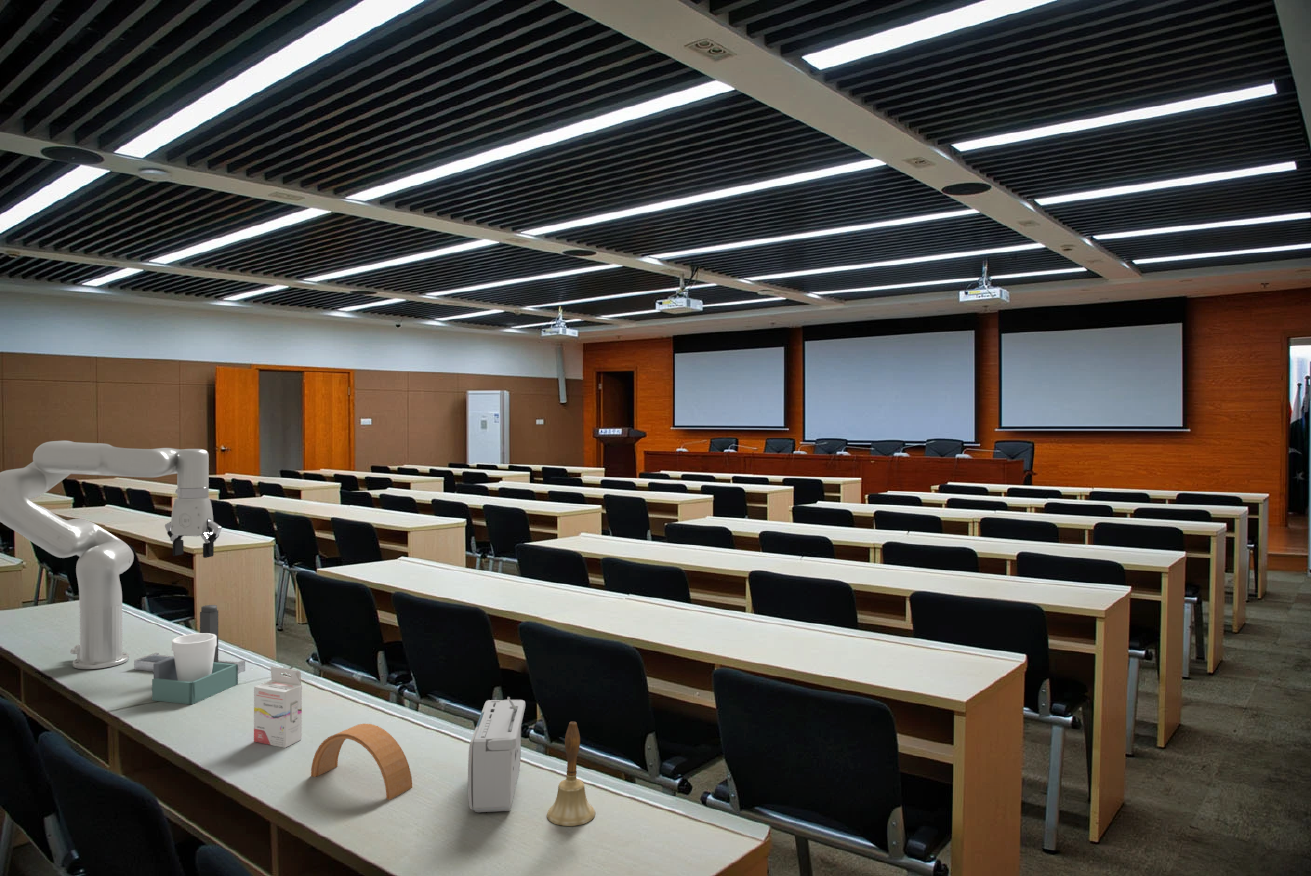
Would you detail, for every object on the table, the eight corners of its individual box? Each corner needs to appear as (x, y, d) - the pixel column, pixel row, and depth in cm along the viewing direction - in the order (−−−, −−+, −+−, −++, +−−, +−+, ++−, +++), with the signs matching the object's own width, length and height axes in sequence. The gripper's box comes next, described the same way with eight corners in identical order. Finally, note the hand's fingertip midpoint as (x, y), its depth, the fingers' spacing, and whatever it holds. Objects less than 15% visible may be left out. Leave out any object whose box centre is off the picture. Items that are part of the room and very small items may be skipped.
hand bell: (547, 804, 146) (548, 714, 145) (595, 803, 147) (596, 714, 146) (545, 827, 138) (546, 732, 137) (595, 826, 138) (596, 732, 138)
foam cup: (223, 685, 206) (223, 633, 205) (203, 697, 197) (203, 643, 196) (185, 684, 206) (185, 633, 205) (163, 697, 196) (163, 643, 196)
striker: (141, 694, 197) (141, 624, 197) (208, 668, 218) (208, 604, 218) (158, 696, 196) (158, 625, 196) (224, 669, 217) (224, 605, 217)
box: (152, 700, 194) (152, 679, 194) (200, 680, 209) (200, 660, 209) (192, 704, 192) (192, 683, 192) (237, 684, 207) (237, 664, 207)
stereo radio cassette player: (483, 765, 162) (483, 663, 161) (525, 764, 162) (526, 663, 162) (466, 817, 141) (467, 701, 140) (515, 816, 141) (516, 700, 141)
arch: (388, 801, 146) (389, 745, 146) (310, 776, 156) (310, 724, 155) (412, 788, 151) (412, 734, 151) (335, 765, 161) (335, 714, 160)
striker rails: (134, 669, 217) (134, 660, 217) (155, 661, 224) (155, 652, 224) (225, 678, 211) (225, 668, 211) (245, 670, 218) (245, 660, 218)
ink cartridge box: (252, 742, 171) (252, 672, 170) (270, 734, 175) (270, 665, 175) (285, 748, 168) (285, 677, 168) (303, 739, 173) (303, 670, 172)
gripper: (155, 494, 225) (155, 556, 225) (210, 496, 221) (209, 560, 221) (177, 491, 232) (177, 552, 232) (230, 493, 228) (230, 555, 229)
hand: (193, 556), depth 227 cm, fingers open, 9 cm apart
